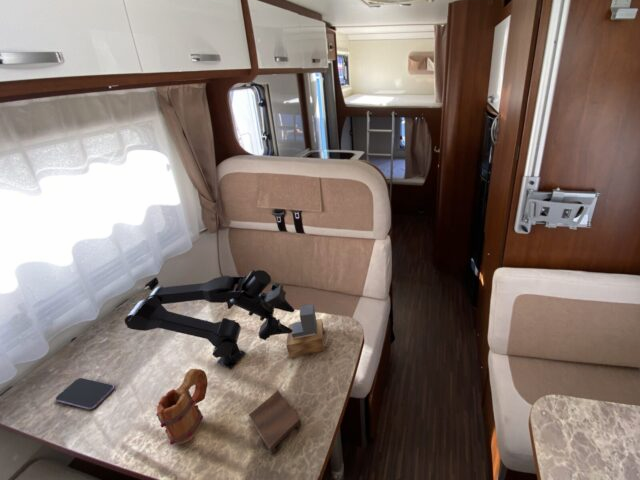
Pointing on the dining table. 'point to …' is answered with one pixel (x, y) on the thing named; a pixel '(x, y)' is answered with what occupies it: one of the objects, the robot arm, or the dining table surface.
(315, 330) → the grey upright block
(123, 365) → the dining table surface
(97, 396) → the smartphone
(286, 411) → the small wooden stand
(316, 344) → the light wood block
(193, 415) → the mug
